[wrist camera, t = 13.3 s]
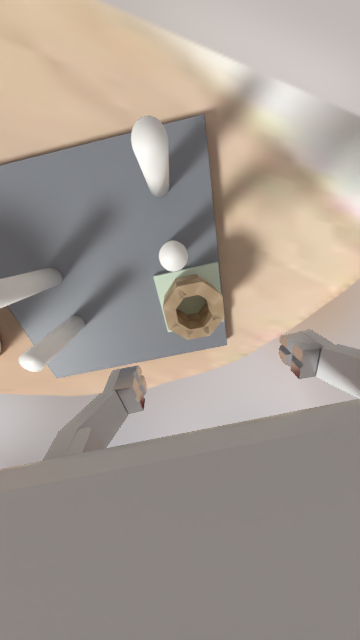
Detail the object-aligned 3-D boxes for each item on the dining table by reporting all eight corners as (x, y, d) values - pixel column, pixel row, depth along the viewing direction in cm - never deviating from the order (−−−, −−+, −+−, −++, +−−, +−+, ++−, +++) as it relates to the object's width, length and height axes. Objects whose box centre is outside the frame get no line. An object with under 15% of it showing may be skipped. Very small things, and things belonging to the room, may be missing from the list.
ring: (160, 281, 20) (158, 290, 16) (211, 270, 20) (220, 277, 16) (171, 326, 22) (171, 342, 19) (216, 317, 22) (226, 332, 19)
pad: (153, 275, 20) (153, 276, 20) (216, 261, 20) (217, 262, 19) (168, 330, 23) (168, 332, 23) (222, 319, 23) (223, 321, 22)
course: (-60, 188, 17) (-287, 137, 8) (201, 122, 16) (237, -9, 7) (61, 372, 27) (12, 432, 19) (224, 340, 26) (250, 388, 18)
